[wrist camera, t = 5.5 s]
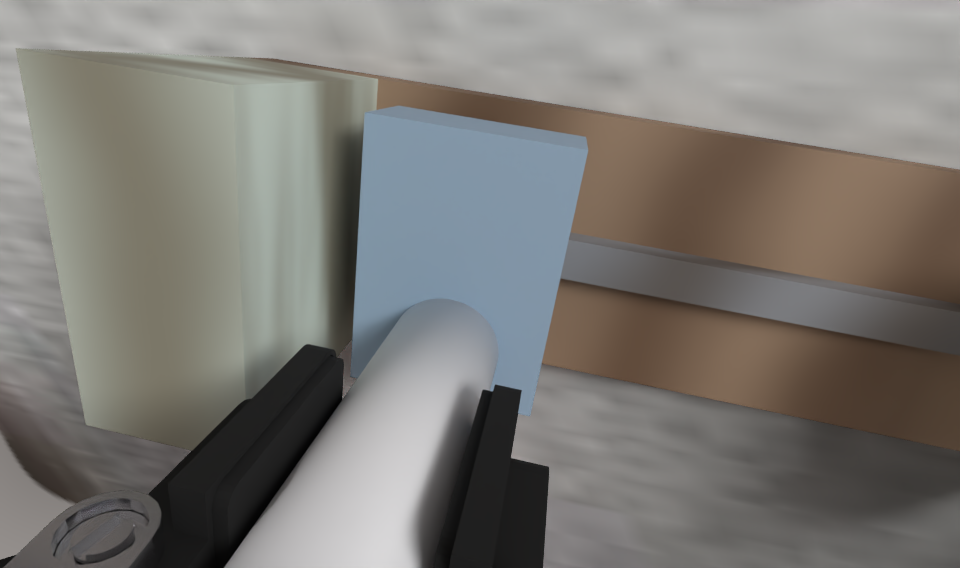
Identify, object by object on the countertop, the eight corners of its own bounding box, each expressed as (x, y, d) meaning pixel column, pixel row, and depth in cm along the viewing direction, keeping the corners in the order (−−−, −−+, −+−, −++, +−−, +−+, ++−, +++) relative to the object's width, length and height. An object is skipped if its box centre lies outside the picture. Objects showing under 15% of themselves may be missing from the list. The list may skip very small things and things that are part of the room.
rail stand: (1257, 218, 14) (2091, 397, 6) (1082, 453, 17) (1498, 766, 10) (260, 56, 17) (-9, 44, 9) (264, 284, 20) (68, 420, 12)
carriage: (585, 136, 14) (613, 295, 4) (536, 367, 16) (481, 791, 7) (398, 105, 14) (22, 181, 4) (380, 335, 17) (122, 687, 7)
